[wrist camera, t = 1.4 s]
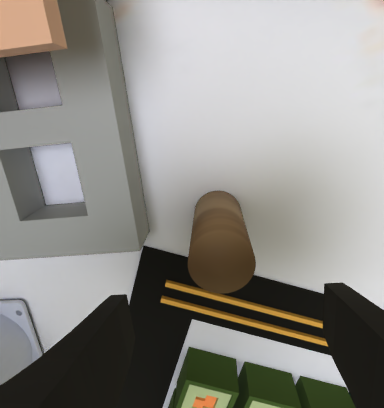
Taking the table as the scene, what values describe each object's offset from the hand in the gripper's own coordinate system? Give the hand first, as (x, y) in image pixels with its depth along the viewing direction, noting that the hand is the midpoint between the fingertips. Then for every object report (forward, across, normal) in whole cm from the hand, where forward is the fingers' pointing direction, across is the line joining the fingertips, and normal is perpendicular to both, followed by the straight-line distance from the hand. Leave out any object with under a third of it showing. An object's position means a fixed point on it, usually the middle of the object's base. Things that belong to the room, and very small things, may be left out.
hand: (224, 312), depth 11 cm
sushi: (+11, -2, +18) cm, 22 cm away
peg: (+10, 0, 0) cm, 10 cm away
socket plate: (+10, +10, -6) cm, 16 cm away
